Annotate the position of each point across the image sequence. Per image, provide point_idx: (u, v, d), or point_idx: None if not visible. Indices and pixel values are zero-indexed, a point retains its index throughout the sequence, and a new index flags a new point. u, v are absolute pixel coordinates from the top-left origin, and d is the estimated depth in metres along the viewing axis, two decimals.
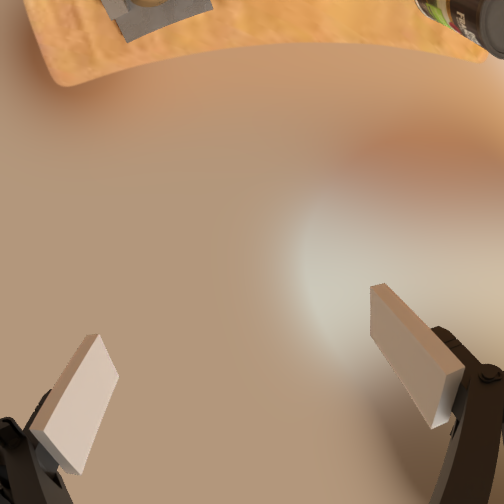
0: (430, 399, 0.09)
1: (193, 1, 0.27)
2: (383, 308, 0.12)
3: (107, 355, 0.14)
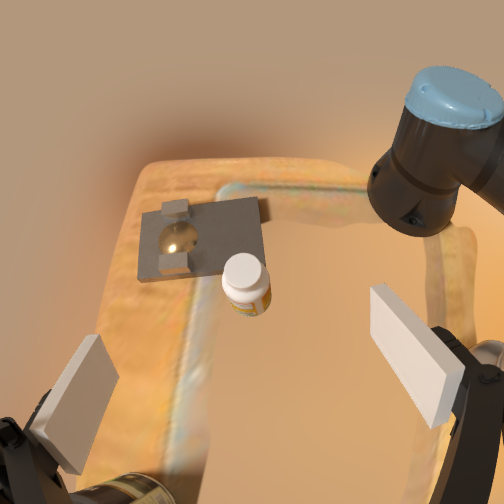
0: (430, 399, 0.09)
1: (149, 266, 0.43)
2: (383, 309, 0.12)
3: (107, 355, 0.14)
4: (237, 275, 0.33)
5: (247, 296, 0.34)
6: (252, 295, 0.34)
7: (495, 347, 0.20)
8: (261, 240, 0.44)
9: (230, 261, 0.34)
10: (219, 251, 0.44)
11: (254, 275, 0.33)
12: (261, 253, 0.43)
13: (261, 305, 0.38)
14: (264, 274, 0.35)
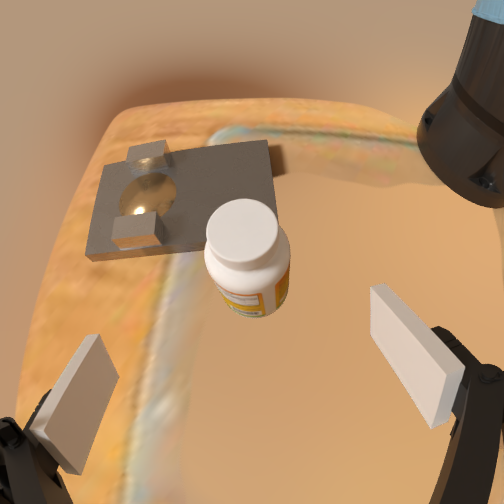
0: (430, 399, 0.09)
1: (103, 235, 0.28)
2: (383, 308, 0.12)
3: (107, 355, 0.14)
4: (230, 238, 0.17)
5: (250, 280, 0.18)
6: (260, 279, 0.18)
7: None
8: (273, 198, 0.28)
9: (219, 213, 0.18)
10: (207, 213, 0.28)
11: (264, 239, 0.17)
12: None
13: (273, 299, 0.22)
14: (281, 241, 0.19)
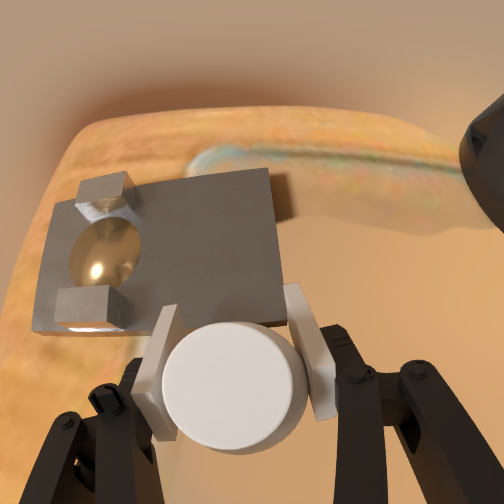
0: (312, 392, 0.10)
1: (51, 306, 0.19)
2: (289, 306, 0.14)
3: (183, 325, 0.16)
4: (204, 406, 0.08)
5: None
6: (258, 444, 0.10)
7: None
8: (277, 261, 0.19)
9: (183, 351, 0.09)
10: (182, 284, 0.19)
11: (268, 410, 0.08)
12: (277, 292, 0.18)
13: None
14: (295, 380, 0.11)
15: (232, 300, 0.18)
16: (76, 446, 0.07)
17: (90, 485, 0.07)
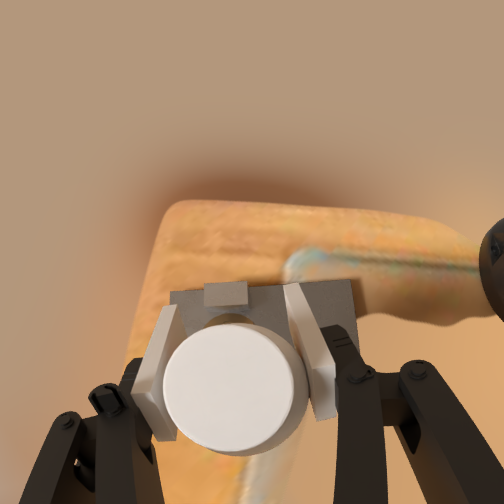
0: (312, 392, 0.10)
1: None
2: (288, 305, 0.14)
3: (183, 325, 0.16)
4: (206, 408, 0.08)
5: None
6: (259, 445, 0.10)
7: None
8: None
9: (184, 353, 0.09)
10: None
11: (269, 412, 0.08)
12: None
13: None
14: (296, 382, 0.11)
15: None
16: (76, 446, 0.07)
17: (90, 485, 0.07)
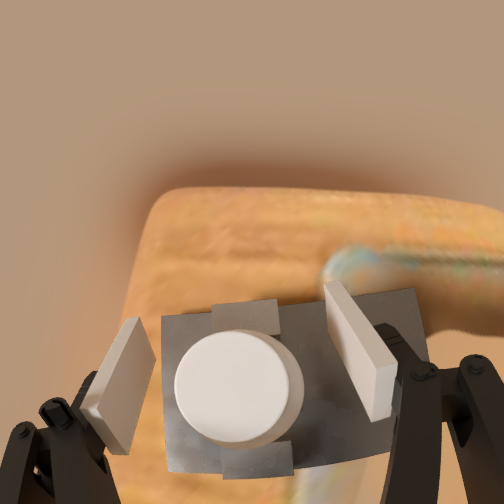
0: (368, 392, 0.10)
1: (192, 447, 0.17)
2: (333, 305, 0.14)
3: (146, 338, 0.15)
4: (212, 404, 0.10)
5: (245, 441, 0.11)
6: (259, 439, 0.11)
7: None
8: None
9: (193, 356, 0.10)
10: (352, 420, 0.17)
11: (267, 407, 0.09)
12: None
13: None
14: (292, 382, 0.12)
15: None
16: (34, 453, 0.07)
17: (52, 491, 0.07)
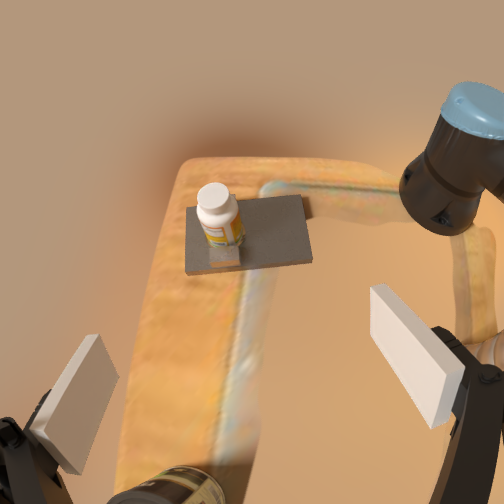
0: (430, 399, 0.09)
1: (197, 258, 0.45)
2: (383, 309, 0.12)
3: (107, 355, 0.14)
4: (207, 199, 0.38)
5: (217, 219, 0.39)
6: (221, 219, 0.39)
7: None
8: (307, 235, 0.46)
9: (203, 189, 0.39)
10: (267, 245, 0.45)
11: (222, 199, 0.38)
12: (308, 248, 0.45)
13: (231, 234, 0.42)
14: (233, 202, 0.40)
15: (289, 251, 0.45)
16: None
17: (15, 503, 0.06)
